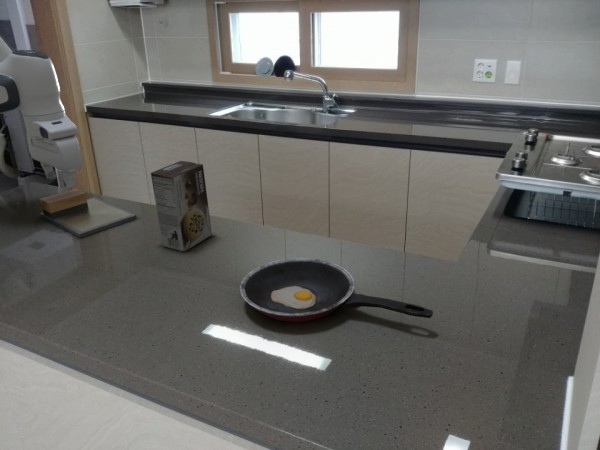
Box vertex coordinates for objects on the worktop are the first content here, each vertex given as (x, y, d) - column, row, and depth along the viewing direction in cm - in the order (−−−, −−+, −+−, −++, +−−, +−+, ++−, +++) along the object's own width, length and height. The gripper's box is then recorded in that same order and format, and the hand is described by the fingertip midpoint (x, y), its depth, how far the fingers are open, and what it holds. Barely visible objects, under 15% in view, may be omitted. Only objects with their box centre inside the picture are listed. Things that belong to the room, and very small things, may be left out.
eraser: (43, 214, 128) (39, 198, 127) (79, 203, 134) (75, 188, 133) (52, 219, 125) (48, 203, 124) (88, 208, 131) (85, 192, 130)
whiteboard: (41, 217, 130) (40, 212, 129) (95, 200, 139) (94, 196, 139) (80, 238, 117) (79, 233, 117) (136, 218, 126) (136, 214, 126)
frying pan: (278, 265, 101) (277, 247, 100) (447, 303, 87) (449, 282, 85) (218, 314, 86) (216, 294, 85) (411, 370, 72) (412, 347, 70)
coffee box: (190, 230, 119) (181, 159, 112) (213, 235, 116) (204, 163, 109) (160, 246, 112) (149, 172, 105) (184, 252, 108) (173, 176, 102)
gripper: (14, 122, 126) (29, 178, 132) (52, 133, 113) (66, 195, 118) (41, 117, 130) (54, 171, 136) (80, 127, 117) (93, 187, 123)
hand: (60, 182), depth 127 cm, fingers open, 8 cm apart
